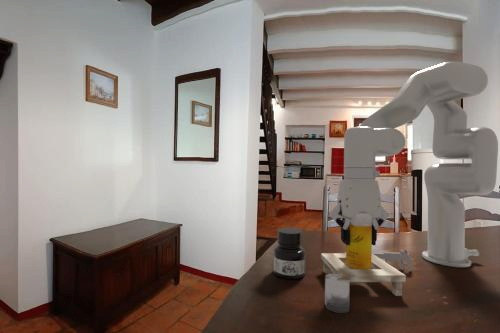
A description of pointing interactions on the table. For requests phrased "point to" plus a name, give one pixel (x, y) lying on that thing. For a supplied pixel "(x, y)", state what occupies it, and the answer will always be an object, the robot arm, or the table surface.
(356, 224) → the beer can
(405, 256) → the caliper
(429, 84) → the robot arm
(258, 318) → the table surface
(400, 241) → the table surface
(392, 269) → the birch stand
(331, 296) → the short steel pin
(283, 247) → the ink bottle
